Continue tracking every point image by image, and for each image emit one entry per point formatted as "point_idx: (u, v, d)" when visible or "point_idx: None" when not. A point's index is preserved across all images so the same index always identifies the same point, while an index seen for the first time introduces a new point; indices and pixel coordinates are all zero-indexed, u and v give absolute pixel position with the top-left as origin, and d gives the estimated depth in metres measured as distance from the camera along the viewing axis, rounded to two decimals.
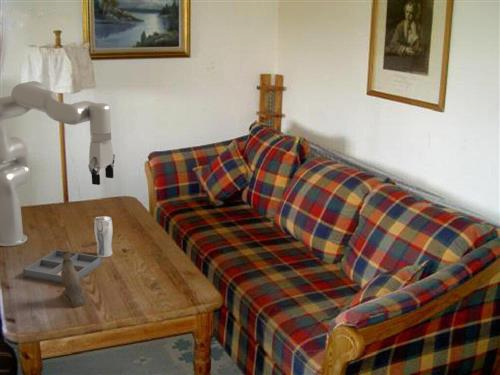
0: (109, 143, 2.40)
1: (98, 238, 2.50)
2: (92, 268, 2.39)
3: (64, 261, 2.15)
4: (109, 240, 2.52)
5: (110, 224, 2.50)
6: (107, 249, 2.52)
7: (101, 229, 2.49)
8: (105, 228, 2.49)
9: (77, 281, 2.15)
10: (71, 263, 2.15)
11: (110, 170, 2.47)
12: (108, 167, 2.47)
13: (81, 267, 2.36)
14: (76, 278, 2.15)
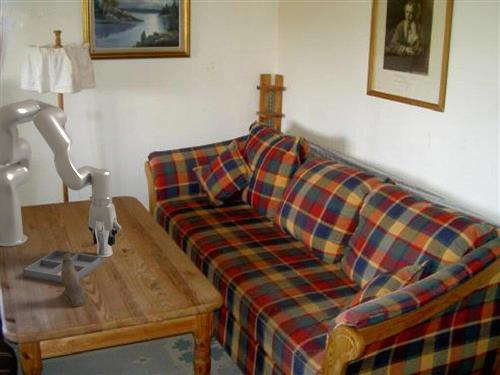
0: None
1: (98, 238, 2.50)
2: (92, 268, 2.39)
3: (64, 261, 2.15)
4: None
5: None
6: (107, 249, 2.52)
7: (101, 229, 2.48)
8: None
9: (77, 280, 2.15)
10: (71, 263, 2.15)
11: None
12: None
13: (81, 267, 2.36)
14: (76, 278, 2.15)
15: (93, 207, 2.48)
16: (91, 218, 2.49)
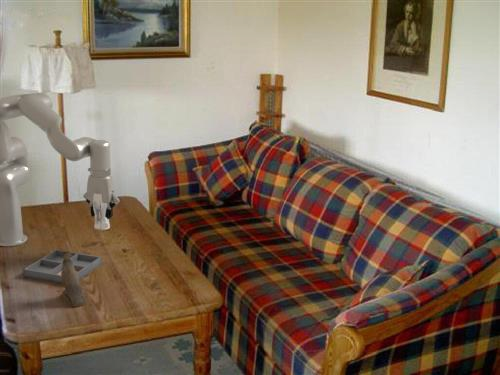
0: None
1: (96, 210, 2.47)
2: (92, 268, 2.39)
3: (64, 261, 2.15)
4: None
5: None
6: (104, 222, 2.49)
7: (99, 202, 2.45)
8: None
9: (77, 281, 2.15)
10: (71, 263, 2.15)
11: None
12: None
13: (81, 267, 2.36)
14: (76, 278, 2.15)
15: (91, 179, 2.44)
16: (89, 190, 2.46)
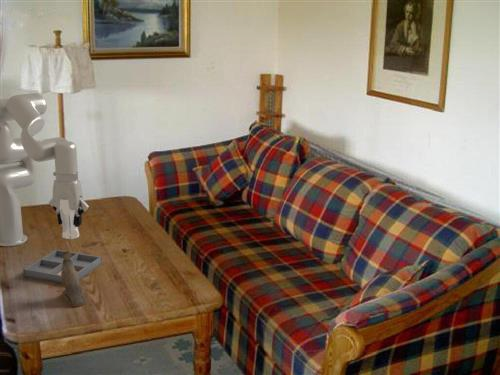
0: None
1: (63, 218, 2.27)
2: (92, 268, 2.39)
3: (64, 261, 2.15)
4: None
5: None
6: (73, 230, 2.30)
7: (66, 208, 2.26)
8: None
9: (77, 281, 2.15)
10: (71, 263, 2.15)
11: None
12: None
13: (81, 267, 2.36)
14: (76, 278, 2.15)
15: (57, 184, 2.25)
16: (55, 196, 2.26)
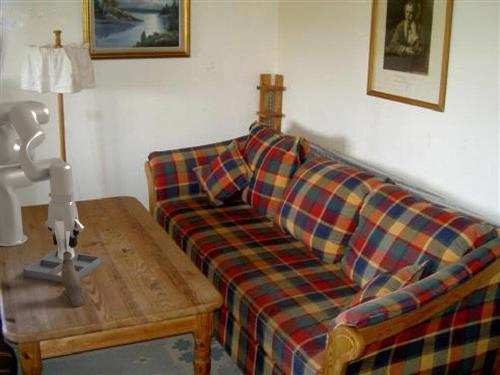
0: None
1: (58, 239, 2.26)
2: (92, 268, 2.39)
3: (64, 261, 2.15)
4: None
5: None
6: (68, 251, 2.29)
7: (61, 229, 2.25)
8: None
9: (77, 281, 2.15)
10: (71, 263, 2.15)
11: None
12: None
13: (81, 267, 2.36)
14: (76, 278, 2.15)
15: (52, 205, 2.24)
16: (50, 217, 2.25)
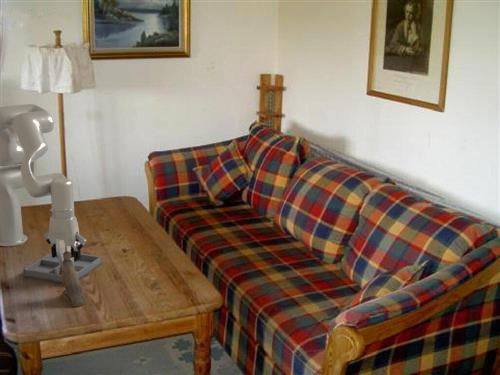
0: None
1: (59, 258, 2.29)
2: (92, 268, 2.39)
3: (64, 261, 2.15)
4: (72, 260, 2.30)
5: None
6: None
7: (62, 248, 2.27)
8: (67, 247, 2.27)
9: (77, 281, 2.15)
10: (71, 263, 2.15)
11: None
12: (55, 245, 2.31)
13: (81, 267, 2.36)
14: (76, 278, 2.15)
15: (53, 220, 2.26)
16: (51, 232, 2.27)
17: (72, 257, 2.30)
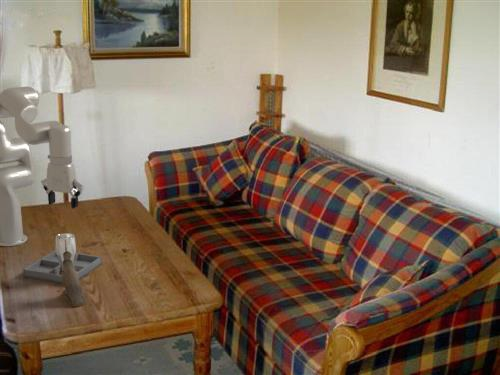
0: None
1: (59, 258, 2.29)
2: (92, 268, 2.39)
3: (64, 261, 2.15)
4: (72, 260, 2.30)
5: (72, 242, 2.28)
6: None
7: (62, 248, 2.27)
8: (67, 247, 2.27)
9: (77, 281, 2.15)
10: (71, 263, 2.15)
11: (53, 194, 2.34)
12: (51, 192, 2.33)
13: (81, 267, 2.36)
14: (76, 278, 2.15)
15: (51, 167, 2.26)
16: (49, 179, 2.28)
17: (72, 257, 2.30)
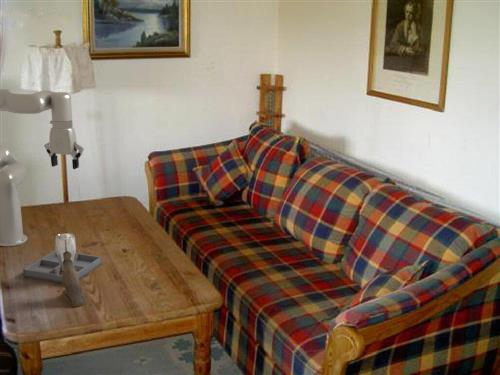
0: None
1: (59, 258, 2.29)
2: (92, 268, 2.39)
3: (64, 261, 2.15)
4: (72, 260, 2.30)
5: (72, 242, 2.28)
6: None
7: (62, 248, 2.27)
8: (67, 247, 2.27)
9: (77, 281, 2.15)
10: (71, 263, 2.15)
11: (56, 157, 2.55)
12: (54, 155, 2.54)
13: (81, 267, 2.36)
14: (76, 278, 2.15)
15: (53, 131, 2.48)
16: (51, 142, 2.49)
17: (72, 257, 2.30)
